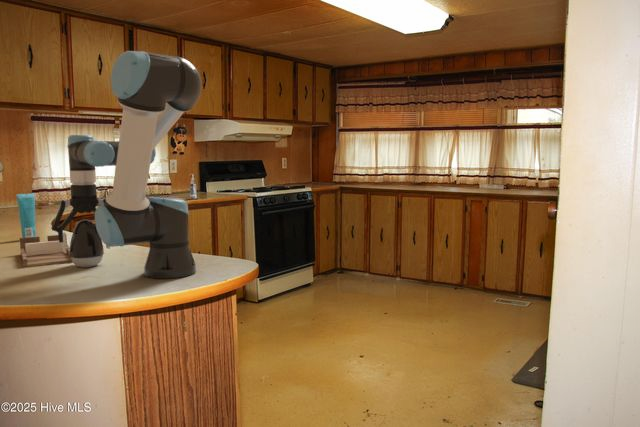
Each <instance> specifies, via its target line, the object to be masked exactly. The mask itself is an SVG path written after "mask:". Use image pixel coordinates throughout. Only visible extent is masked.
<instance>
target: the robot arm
mask: <svg viewBox="0 0 640 427" xmlns="http://www.w3.org/2000/svg"><path fill="white" fill-rule="evenodd" d="M110 83H111V85H110V86H111V92H112V93H113V95H114V96H116V97H117V103H118V104H119V105H120V106H121V108H122V116H121V123H120V131H119V140H118V141H117V140H116V141H113V140H112V141H110V140H109V141H108V140H106V141H105V140H94V139H95V138H94V136H93V135H90V134H70V135H69V136H68V137H67V149H68V167H69V181H70V182H69V183H71V185H70V200H64V199H61V200H60V203H59V209H58V212H57V214H56V216H55V218H54V221H53V223H52V225H51V230H52V232H57V235H58V240H59V242H63V252H64V253H67V250H66V238H67V234H66V231H64V230H65V229H66V228H67V226H68V225H69V223H70V222H71V221H72V220H73V219H74V217H75V216H76V215H77V213H78V214H84V213H87V214H91V213H92V212H93V213H94V224H96V228H97V231H98V234H99V237H100V238H101V240H102V244H103V245H104V244H105V248H106V249H107V250H110V249H111V248H112V247H124V246H130V245H139V244H144V243H149V244H148V245H149V248H148V250H149V251H148V252H147V257H146V259H145V264H144V267H143V271H144V272H143V273H144V276H145V277H148V278H152V279H177V278H184V277H188V276H191V275H193V274H195V273H196V272H197V267H196V266H197V265H196V262H195V259H194V256H193V254H192V251H191V248H190V230H189V227H190V226H189V222H190V221H189V216H190V212H189V206H188V202H187V201H186V200H185V199H180V198H171V197H158V196H156V197H155V196H149V197H146V196H147V195H146V194H147V189H148V188H147V187H148V181H149V176H150V175H149V174H150V170H151V169H150V167H151V164H153V163H154V161H155V158H156V147H157V146H158V144H159V143H160V142H161V140H162V139H164V138H165V136H166V135H167V133H169V131H170V130H171V128H173V126H174V125H175V124H176V123H177V122H178V121H179V119H180V118H181V117H182V115H183V114H184V113H186V112H189V111H191V110H192V109H193V108H194V107H195V106H196V104H197V103H198V101H199V99H200V97H201V95H202V89H203V84H202V83H203V82H202V78H201V76H200V73H199V71H198V68H196V66H195V65H194V64H193V63H192V62H191V61H189V60H188V59H186V58H183V57H180V56H175V55H166V54H160V53H154V52H149V51H148V52H147V51H143V50H140V51H138V50H137V51H136V50H135V51H134V50H126V51H124V52H122V53H120V55H119V56H118V57H117V58H116V59H115V61H114V62H113V66H112V69H111V72H110ZM110 166H115V171H114V178H113V186H112V192H110V193H108V194H107V195H106V196H105V197H103V198H98V196H97V195H98V193H97V192H98V191H97V185H96V184H95V183H97V177H96V175H97V174H96V168H98V167H100V168H102V167H110ZM98 204H100V205H99V206H98ZM69 205H70V206H71V207H72V210H71V211H70V212H69V214H68V215H67V216H66V218H65V219H63V222H62V223H61V224H60V222H61V220H62V217H63V216H64V212H65V209H66V208H68V206H69ZM59 224H60V225H59Z"/></svg>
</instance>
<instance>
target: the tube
mask: <svg viewBox="0 0 640 427" xmlns="http://www.w3.org/2000/svg"><path fill="white" fill-rule="evenodd" d="M15 195H16V200H17V206H18V208H17V209H18V213H19V219H20V222H19V223H20V229H21V236H22V237H21V238H26V237H37V233H36V232H37V231H36V230H37V229H36V207H35V206H36V193H35V192H34V193H18V194H15Z"/></svg>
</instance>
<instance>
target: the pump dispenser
mask: <svg viewBox="0 0 640 427" xmlns="http://www.w3.org/2000/svg"><path fill="white" fill-rule="evenodd" d="M69 244H70V245H69V247H70V251H69V254H70V257H71V260H72V263H73V264H74V265H75V266H76V267H79V268H92V267H95V266H97V265H99V264H100V263H101V262H102V260H103V257H104V254H105V250H104V243H103V241H102V240H101V238H100V237H99V234H98V231H97V228H96V224H95V222H93V221H92V220H91V219H85V218H84V219H81V220H79V221H77V223H76V224H75V227H74V229H73V231H72V235H71V238H70V242H69Z"/></svg>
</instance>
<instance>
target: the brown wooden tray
mask: <svg viewBox="0 0 640 427" xmlns="http://www.w3.org/2000/svg"><path fill="white" fill-rule="evenodd" d="M40 238H41V237H40V236H36V237H26V238H22V237H19V247H20V248H19V249H20V257H21V261H22V265H23V268H33V267H42V265H43V266H51V265H60V264H69V263H70V264H72V263H73V262H72V260H71V257H70V254H69V251H70V245H68V241H67V237H66V250H67V253H64V252H57V253H47V254H36V255H26V249H25V244H26V243H38V242H41V241H40V240H41V239H40ZM46 238H47V242H50V241H59V240H58V234H53V235H47V236H46ZM71 262H72V263H71ZM32 266H33V267H32Z"/></svg>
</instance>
